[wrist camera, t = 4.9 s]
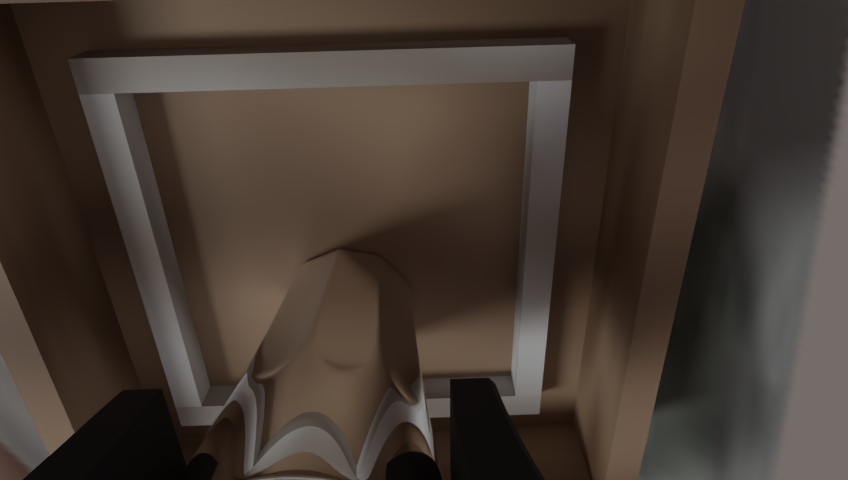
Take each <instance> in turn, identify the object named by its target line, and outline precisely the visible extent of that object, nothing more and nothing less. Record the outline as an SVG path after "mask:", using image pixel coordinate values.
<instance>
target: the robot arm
mask: <svg viewBox="0 0 848 480" xmlns="http://www.w3.org/2000/svg"><path fill="white" fill-rule="evenodd" d="M186 467H187V466H186V463H185V460H184V457H183V453H182V450H181V447H180V444H179V441H178V438H177V435H176V431H175V428H174V425H173V422H172V419H171V416H170V413H169V410H168V406H167V403H166V400H165V397H164V394H163V391H162V389H138V390H122V391H121V392H120V393H119V394H118V395H117V396H115V397H114V398H113V399H112V400H111V401H110V402H108V403H107V404H106V405H105V406H104V407H103V408H102V409H101V410H99V411H98V412H97V413H96V414H95V415H94V416H93V417H92V418H91V419H89V420H88V421H87V422H86V423H85V424H84V425H83V426H82V427H81V428H80V429H78V430H77V431H76V432H75V433H74V434H73V435H72V436H71V437H70V438H69V439H67V440H66V441H65V442H64V443H63V444H62V445H61V446H60V447H59V448H58V449H56V450H55V451H54V452H53V453H52V454H51V455H50V456H49V457H48V458H46V459H45V460H44V461H43V462H42V463H41V464H40V465H39V466H37V467H36V468H35V469H34V470H33V471H32V472H31V473H30V474H28V475H27V476H26V477H25V478H24V479H23V480H179V479H180V477H181V475H182V473H183V472H184V470H185V468H186ZM450 474H451V480H545V479H544V477H543V475H542V474H541V472H540V471H539V469H538V467H537V466H536V464H535V462H534V461H533V459H532V457H531V455H530V454H529V452H528V450H527V448H526V446H525V445H524V443H523V441H522V439H521V437H520V435H519V433H518V432H517V430H516V428H515V426H514V424H513V422H512V420H511V418H510V416H509V414H508V412H507V410H506V408H505V406H504V403H503V401H502V399H501V396H500V394H499V392H498V389H497V387H496V384H495V383H494V382H493V381H492V380H491V379H490V378H463V379H450Z"/></svg>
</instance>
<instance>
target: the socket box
mask: <svg viewBox="0 0 848 480" xmlns="http://www.w3.org/2000/svg"><path fill="white" fill-rule="evenodd" d="M745 2H746V0H0V352H1V354H2V357H3V359H4V361H5V363H6V365H7V367H8V369H9V371H10V373H11V375H12V378H13V380H14V382H15V384H16V386H17V388H18V390H19V392H20V394H21V396H22V398H23V401H24V403H25V405H26V407H27V409H28V411H29V413H30V415H31V417H32V419H33V422H34V424H35V426H36V428H37V430H38V432H39V434H40V436H41V438H42V440H43V443H44V445H45V447H46V449H47V451H48V453H49V455H51V454H52V453H53V452H54V451H55V450H56V449H58V448H59V447H60V446H61V445H62V444H63V443H64V442H65V441H66V440H67V439H69V438H70V437H71V436H72V435H73V434H74V433H75V432H76V431H77V430H78V429H80V428H81V427H82V426H83V425H84V424H85V423H86V422H87V421H88V420H89V419H91V418H92V417H93V416H94V415H95V414H96V413H97V412H98V411H99V410H101V409H102V408H103V407H104V406H105V405H106V404H107V403H108V402H110V401H111V400H112V399H113V398H114V397H115V396H117V395H118V394H119V393H120V392H121V391H122V390H138V389H162V391H163V394H164V397H165V400H166V403H167V406H168V410H169V413H170V416H171V419H172V422H173V425H174V428H175V431H176V435H177V438H178V441H179V444H180V447H181V450H182V453H183V457H184V460H185V463H186V466H187V465H188V463H189V462H190V460H191V458H192V457H193V455H194V453H195V451H196V450H197V448H198V446H199V445H200V443H201V441H202V440H203V438H204V436H205V435H206V433H207V431H208V430H209V428H210V426H211V425H212V423H213V422H214V420H215V418H216V417H217V415H218V414H219V412H220V411H221V409H222V408H223V406H224V405H225V403H226V402H227V400H228V399H229V397H230V396H231V394H232V393H233V391H234V390H235V388H236V386H237V384H238V383H239V381H240V379H241V377H242V375H243V373H244V371H245V369H246V367H247V365H248V364H249V362H250V360H251V358H252V356H253V354H254V352H255V350H256V348H257V346H258V345H259V343H260V341H261V339H262V337H263V335H264V333H265V331H266V329H267V327H268V325H269V324H270V322H271V320H272V318H273V316H274V314H275V312H276V310H277V308H278V306H279V304H280V303H281V301H282V299H283V297H284V295H285V294H286V292H287V290H288V288H289V287H290V285H291V283H292V281H293V279H294V278H295V276H296V274H297V272H298V270H299V268H300V267H301V265H302V264H303V263H305V262H308V261H310V260H313V259H315V258H317V257H320V256H322V255H325V254H327V253H329V252H332V251H334V250H336V249H339V248H340V249H346V250H351V251H356V252H362V253H367V254H373V255H379V256H380V257H382V258H383V259H384V260H385V261H386V262H387V263H388V264H389V265H390V266H391V267H392V268H393V269H394V270H395V271H396V272H397V273H398V274H399V275H400V276H401V277H402V278H403V279H404V280H406V281H407V283H408V287H409V293H410V300H411V307H412V313H413V320H414V326H415V333H416V339H417V346H418V352H419V359H420V365H421V372H422V378H423V384H424V390H425V396H426V402H427V407H428V412H429V417H430V421H431V425H432V430H433V434H434V438H435V442H436V447H437V451H438V455H439V460H440V465H441V470H442V474H443V479H444V480H451V474H450V379H463V378H490V379H491V380H492V381H493V382H494V383H495V384H496V387H497V389H498V392H499V394H500V396H501V399H502V401H503V403H504V406H505V408H506V410H507V412H508V414H509V416H510V418H511V420H512V422H513V424H514V426H515V428H516V430H517V432H518V433H519V435H520V437H521V439H522V441H523V443H524V445H525V446H526V448H527V450H528V452H529V454H530V455H531V457H532V459H533V461H534V462H535V464H536V466H537V467H538V469H539V471H540V472H541V474H542V475H543V477H544V479H545V480H638V476H639V472H640V467H641V463H642V458H643V454H644V450H645V445H646V441H647V436H648V432H649V427H650V423H651V419H652V414H653V410H654V405H655V401H656V396H657V392H658V388H659V383H660V379H661V374H662V370H663V365H664V361H665V357H666V352H667V348H668V343H669V339H670V334H671V330H672V326H673V321H674V317H675V312H676V308H677V303H678V299H679V295H680V290H681V286H682V281H683V277H684V272H685V268H686V264H687V259H688V255H689V250H690V246H691V241H692V237H693V233H694V228H695V224H696V219H697V215H698V210H699V206H700V201H701V197H702V193H703V188H704V184H705V179H706V175H707V170H708V166H709V162H710V157H711V153H712V148H713V144H714V139H715V135H716V131H717V126H718V122H719V117H720V113H721V108H722V104H723V100H724V95H725V91H726V86H727V82H728V77H729V73H730V69H731V64H732V60H733V55H734V51H735V46H736V42H737V38H738V33H739V29H740V24H741V20H742V15H743V11H744V7H745Z"/></svg>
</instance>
